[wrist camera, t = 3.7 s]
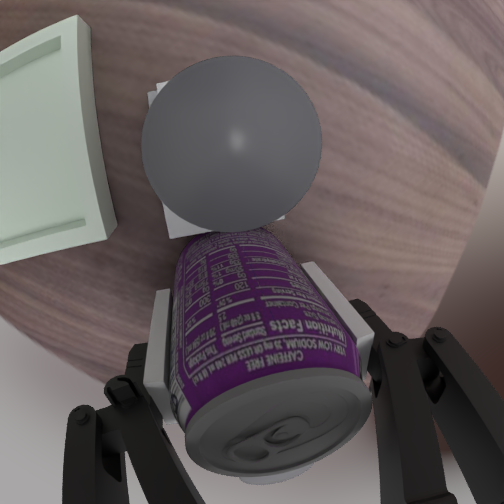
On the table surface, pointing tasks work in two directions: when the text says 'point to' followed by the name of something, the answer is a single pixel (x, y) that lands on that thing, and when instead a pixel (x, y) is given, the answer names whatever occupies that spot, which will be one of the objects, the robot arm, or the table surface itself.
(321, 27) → the table surface
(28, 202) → the tray
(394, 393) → the robot arm
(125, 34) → the table surface
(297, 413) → the beverage can
